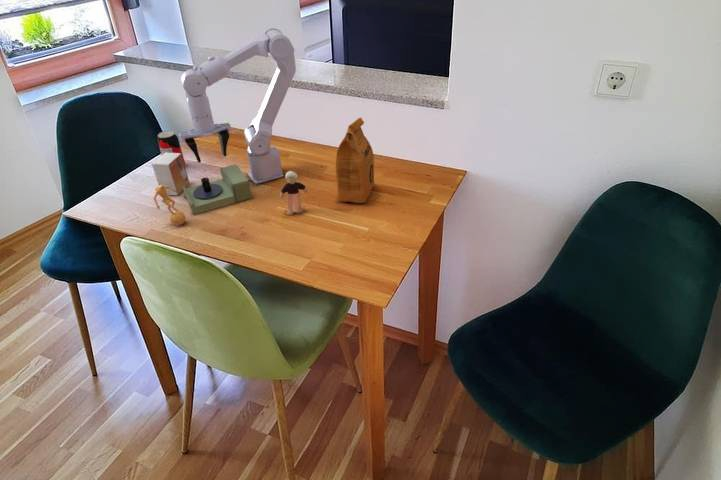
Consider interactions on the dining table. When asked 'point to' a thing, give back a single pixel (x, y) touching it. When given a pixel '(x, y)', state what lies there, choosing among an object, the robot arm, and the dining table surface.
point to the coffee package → (354, 165)
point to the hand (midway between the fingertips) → (211, 158)
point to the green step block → (232, 192)
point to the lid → (207, 190)
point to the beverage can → (169, 143)
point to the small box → (171, 172)
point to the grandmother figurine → (293, 193)
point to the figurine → (175, 216)
